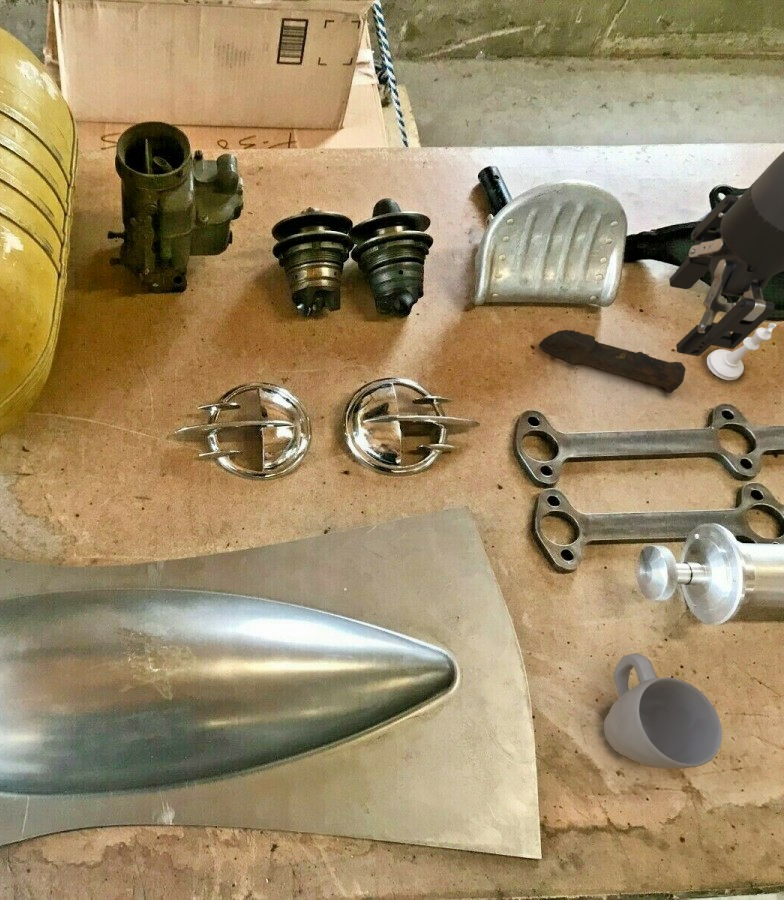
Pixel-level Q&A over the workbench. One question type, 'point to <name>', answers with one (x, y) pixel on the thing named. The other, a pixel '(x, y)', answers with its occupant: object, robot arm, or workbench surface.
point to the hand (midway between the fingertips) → (681, 317)
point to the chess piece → (736, 355)
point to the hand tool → (614, 359)
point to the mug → (661, 719)
